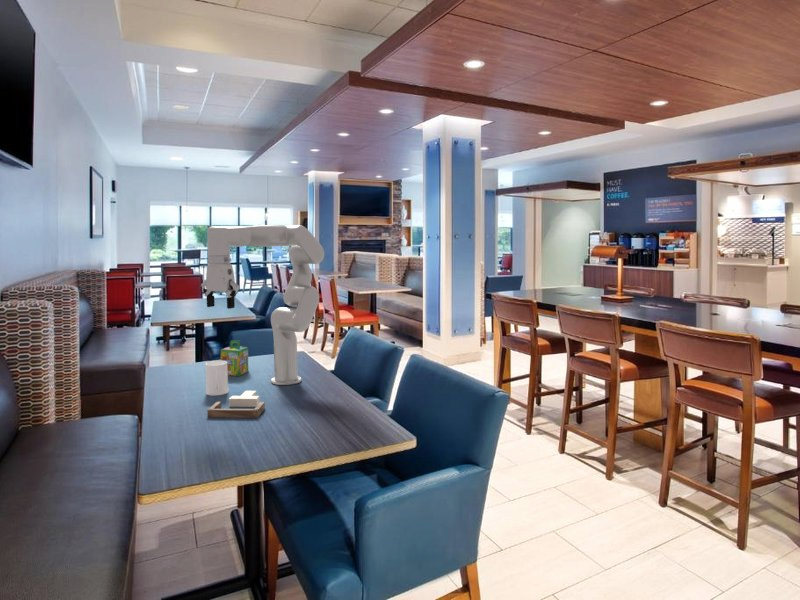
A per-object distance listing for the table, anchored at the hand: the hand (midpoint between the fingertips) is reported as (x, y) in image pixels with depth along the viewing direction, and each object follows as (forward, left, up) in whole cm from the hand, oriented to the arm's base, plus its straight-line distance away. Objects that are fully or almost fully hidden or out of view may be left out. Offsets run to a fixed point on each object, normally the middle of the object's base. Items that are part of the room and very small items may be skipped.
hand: (220, 307), depth 192 cm
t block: (+2, +9, -35) cm, 36 cm away
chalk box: (-39, -9, -35) cm, 53 cm away
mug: (-8, -6, -35) cm, 37 cm away
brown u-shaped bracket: (+14, +9, -35) cm, 39 cm away
